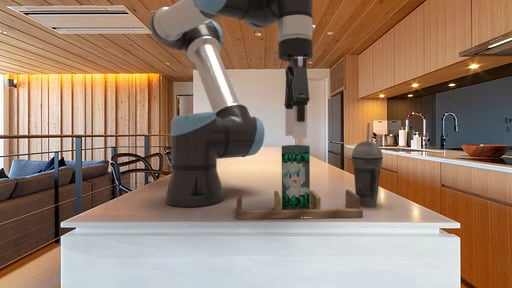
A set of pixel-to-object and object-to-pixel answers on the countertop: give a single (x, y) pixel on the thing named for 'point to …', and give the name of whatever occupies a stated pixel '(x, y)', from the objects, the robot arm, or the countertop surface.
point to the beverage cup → (367, 170)
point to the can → (295, 177)
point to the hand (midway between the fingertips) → (295, 137)
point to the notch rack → (315, 210)
